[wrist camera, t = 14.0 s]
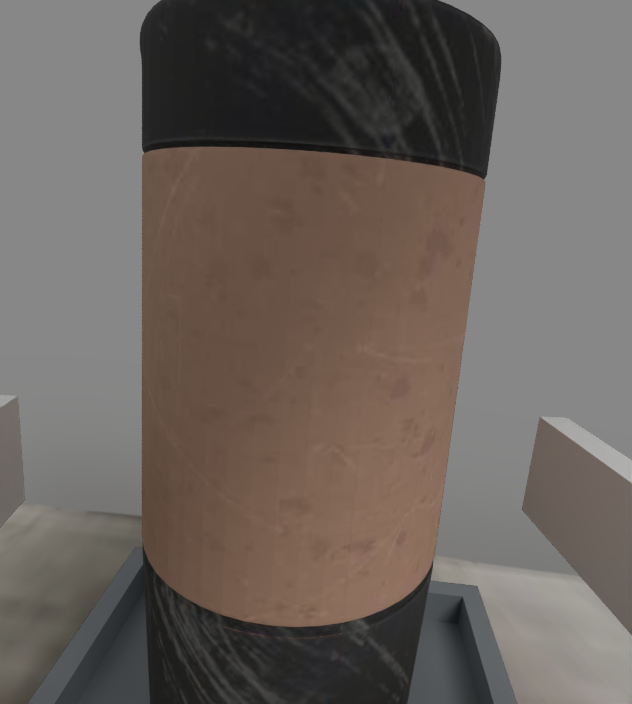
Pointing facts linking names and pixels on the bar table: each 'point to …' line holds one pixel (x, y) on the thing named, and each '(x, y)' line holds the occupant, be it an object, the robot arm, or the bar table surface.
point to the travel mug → (302, 335)
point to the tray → (132, 659)
